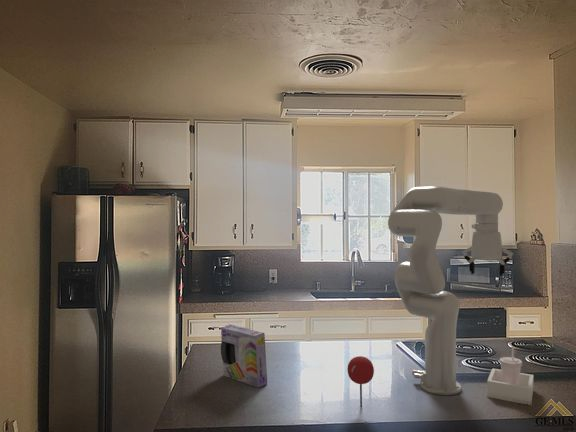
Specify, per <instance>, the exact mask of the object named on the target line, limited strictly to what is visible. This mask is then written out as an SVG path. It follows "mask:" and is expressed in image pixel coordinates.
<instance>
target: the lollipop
mask: <svg viewBox="0 0 576 432" xmlns="http://www.w3.org/2000/svg"><path fill="white" fill-rule="evenodd" d="M347 374H348V375H347V376H348V378H349V379H350V380H351V381H352V382H353V383H355V384H356V385H357V384H358V385H359V396H360V397H359V402H360V405H359V408H360V407H362V408H363V389H362V388H363V386H362V385H366V384H368V383H369V382H371V381H372V379H373V377H374V376H375V375H374V374H375V368H374V364H373V363H372V361H371V360H370V359H369V358H368V357H366V356H363V355H362V356H358V355H357V356H355V357H353V358H351V359H350V360H349V362H348V364H347Z"/></svg>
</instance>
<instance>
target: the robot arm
mask: <svg viewBox="0 0 576 432" xmlns="http://www.w3.org/2000/svg"><path fill="white" fill-rule="evenodd" d="M503 206H504V203H503V199H502V197H501V196H500V195H499V194H498V193H496V192H490V191H482V190H481V191H480V190H470V189H459V188H451V187H447V186H446V187H444V186H416V187H413V188H411V189H409V190H408V191H407V192H406V193H405V194H404V195H403V196H402V198H401V199H399V201H398V202H397V204H396V206H395V207H394V208H393V210H392V211H391V212H390V214H389V215H388V220H387V226H388V230H389V231H390V232H391V234H393V235H394V236H398V237H411V238H412V237H413V238H415V239H414V241H413V242H412V244H411V245H410V247H409V249H408V251H407V256H406V257H407V261H404V262H401V263H399V264H398V266H396V268H395V272H394V283H395V287H396V289H397V292H398V294H399V297H400V299H401V301H402V304H403V305H404V308H405V310H406V311H407V312H408V313H409V314H411V315H413V316H417V317H422V318H425V319H426V318H427V319H430V320H431V322H430V323H429V324H428V326H427V327H426V329H425V331H424V370H419V369H412V371H411V374H412V376H413V378H414V379H421V380H420V382H419V384H420V387H421V389H422V390H424V391H426V392H428V393H431V394H434V395H440V396H452V395H454V396H455V395H457V394H460V393H461V391H462V385H461V384H460V383H459V382H458V381H457V322H458V316H459V312H460V301H459V299H458V297H457V296H456V295H455V294H454V293H452V292H449V291H446V290H445V288H446V279H445V276H444V272H443V270H442V268H441V265H440V261H439V260H438V256H437V253H436V249H437V244H438V240H439V237H440V234H441V231H442V226H443V219H442V216H441V214H446V215H462V216H463V215H465V216H466V215H470V216H475V223H474V224H471V229H474V230H475V231H473V232H472V237H471V246H470V247H468V248H466V249H463V250H462V251H461V254H462V256H463V257H464V259H465V260H466V261H467V262H468V263H469V272H470V273H471V275H473V274H475V273H476V272H475V268H476V267H475V262H474V261H475V260H476V259H477V260H493V261H494V260H495V261H498V262H499V263H500V265H499V276H500V277H503V275H504V274H506V272H505V269H506V266H505V265H506V264H507V263H508V262H509V261H510V260H511V258H512V257H513V256H514V253H513V252H512V251H510V250H508V249H506V248H505V247H503V241H502V234H501V231H499V214H500V213H501V211H502V210H503ZM468 252H470V254H471V257H470V256H469V255H468ZM503 253H504V254H507V256H506V258H505V259H504V258H503Z"/></svg>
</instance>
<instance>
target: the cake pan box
mask: <svg viewBox="0 0 576 432" xmlns="http://www.w3.org/2000/svg"><path fill="white" fill-rule="evenodd" d="M220 335H221V336H220V337H221V343H220V355H221V360H222V371H223V376H224V377H228V378H230V379H232V380H235V381H239V382H241V383H244V384H248V385H250V386H252V387H256V388H261V387H264V386H266V385H268V373H267V370H268V369H267V355H266V354H267V352H266V337H265V335H266V333H265V332H262V331H258V330H254V329H251V328H247V327H242V326H237V325H233V324H227V325H225V326H222V327H220Z"/></svg>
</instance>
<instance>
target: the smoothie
mask: <svg viewBox="0 0 576 432" xmlns="http://www.w3.org/2000/svg"><path fill="white" fill-rule="evenodd" d="M514 351H515V346H511V356H502V357H500V358H499V363H500V366H501V367H500V370H502V376H503V382H504V383H510V384H515V385H519V378H520V373H521V370H522V366H523V361H522V359H520V358H517V357H515V355H514V354H515V352H514Z"/></svg>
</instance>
